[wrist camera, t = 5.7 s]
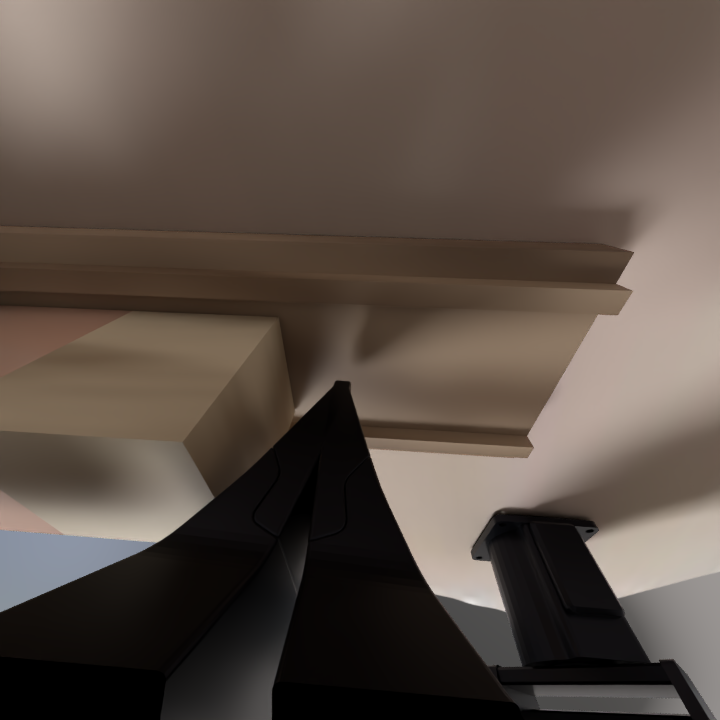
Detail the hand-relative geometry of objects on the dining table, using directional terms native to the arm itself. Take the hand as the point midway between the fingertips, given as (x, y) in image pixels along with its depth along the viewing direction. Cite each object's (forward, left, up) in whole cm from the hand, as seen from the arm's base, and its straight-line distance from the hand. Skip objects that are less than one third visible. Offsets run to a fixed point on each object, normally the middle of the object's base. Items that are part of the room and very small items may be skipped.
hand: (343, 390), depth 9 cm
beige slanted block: (0, +5, -1) cm, 5 cm away
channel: (0, +3, -2) cm, 4 cm away
